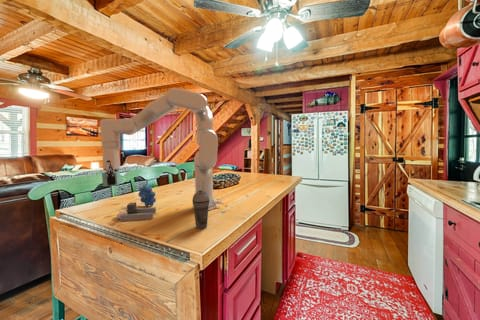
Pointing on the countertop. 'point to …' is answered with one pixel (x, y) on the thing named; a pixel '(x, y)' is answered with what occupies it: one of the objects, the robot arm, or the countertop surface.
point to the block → (117, 178)
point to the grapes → (147, 195)
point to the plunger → (128, 210)
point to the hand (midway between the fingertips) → (113, 183)
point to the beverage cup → (201, 208)
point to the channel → (139, 214)
